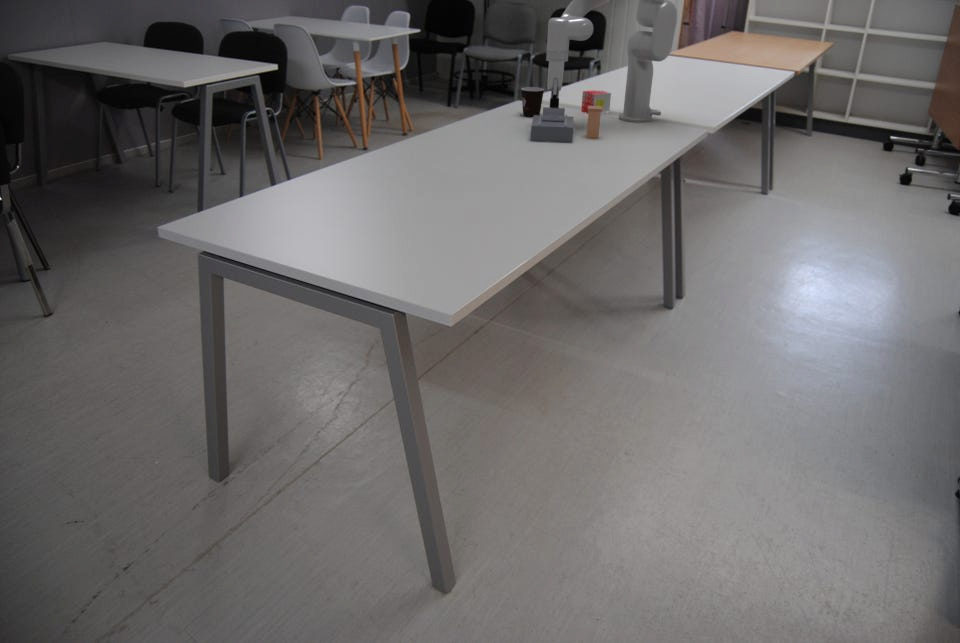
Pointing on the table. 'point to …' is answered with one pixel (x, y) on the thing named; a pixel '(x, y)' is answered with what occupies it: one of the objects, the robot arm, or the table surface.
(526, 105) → the dark brown cup
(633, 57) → the robot arm
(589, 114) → the plug
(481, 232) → the table surface
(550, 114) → the shutter
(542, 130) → the socket box
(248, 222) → the table surface
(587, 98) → the puzzle cube
